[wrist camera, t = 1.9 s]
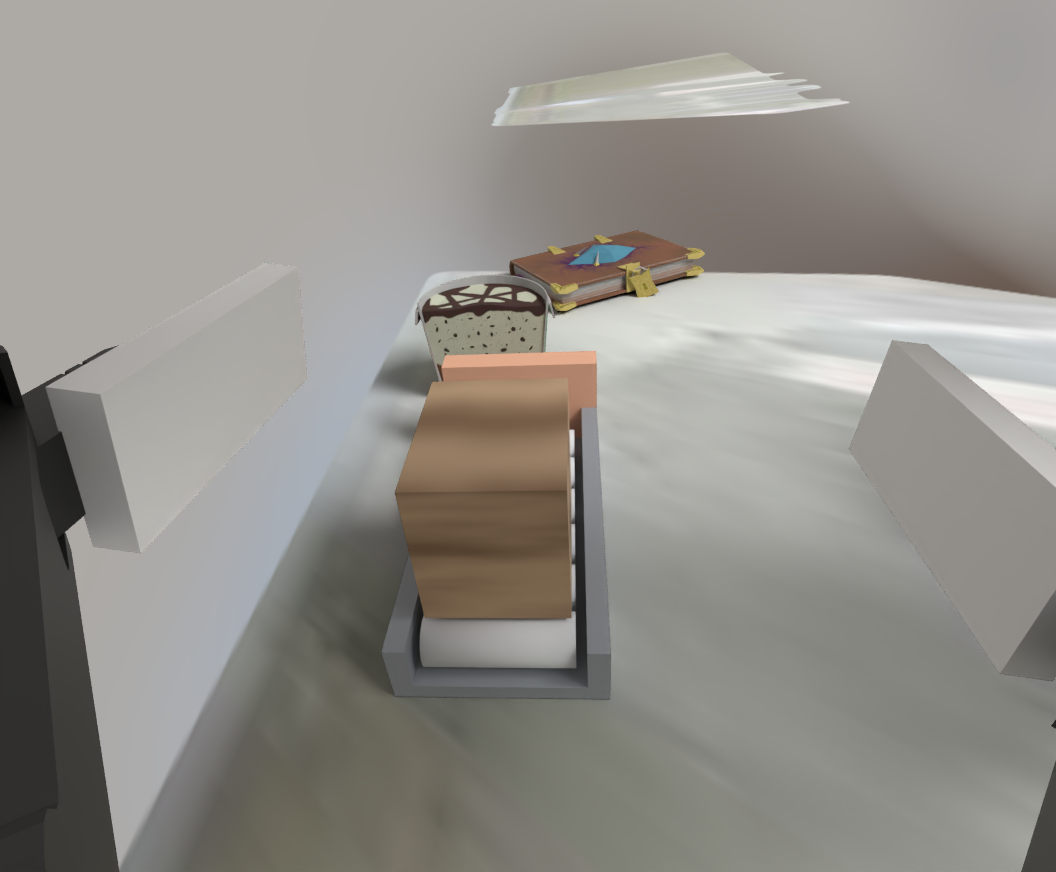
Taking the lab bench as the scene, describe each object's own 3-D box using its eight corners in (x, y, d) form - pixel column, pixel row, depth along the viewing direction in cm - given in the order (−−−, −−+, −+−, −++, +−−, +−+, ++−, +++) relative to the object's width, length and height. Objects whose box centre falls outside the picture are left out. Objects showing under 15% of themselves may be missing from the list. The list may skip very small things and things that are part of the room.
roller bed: (610, 699, 35) (611, 602, 31) (395, 696, 36) (365, 602, 32) (595, 433, 56) (595, 350, 51) (457, 436, 57) (445, 355, 52)
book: (479, 293, 85) (474, 255, 83) (637, 253, 93) (637, 218, 91) (534, 334, 73) (530, 291, 70) (711, 284, 81) (714, 244, 78)
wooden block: (571, 618, 35) (566, 490, 30) (424, 617, 35) (394, 492, 30) (571, 495, 43) (567, 377, 38) (451, 496, 43) (432, 381, 38)
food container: (556, 363, 66) (552, 268, 60) (558, 395, 61) (554, 295, 55) (436, 368, 67) (421, 276, 61) (428, 401, 62) (411, 303, 56)
